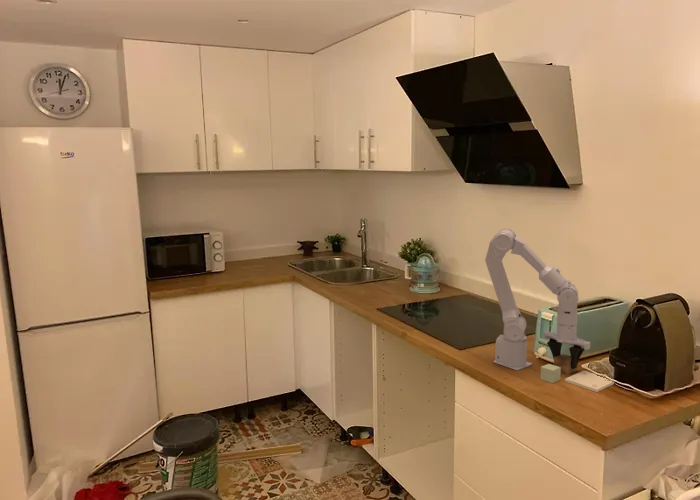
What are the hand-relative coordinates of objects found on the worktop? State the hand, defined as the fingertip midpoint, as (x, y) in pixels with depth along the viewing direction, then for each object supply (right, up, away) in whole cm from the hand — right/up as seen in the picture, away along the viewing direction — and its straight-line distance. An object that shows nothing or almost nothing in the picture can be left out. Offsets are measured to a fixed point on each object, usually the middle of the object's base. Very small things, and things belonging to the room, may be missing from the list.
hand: (565, 365), depth 165 cm
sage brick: (-7, -3, -7) cm, 10 cm away
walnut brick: (0, -1, 0) cm, 1 cm away
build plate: (+3, -3, -10) cm, 11 cm away
